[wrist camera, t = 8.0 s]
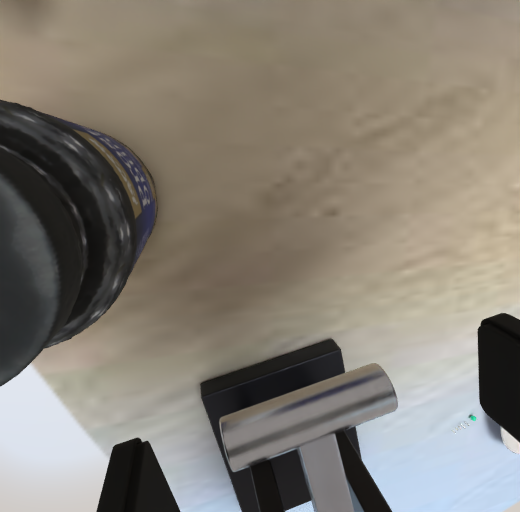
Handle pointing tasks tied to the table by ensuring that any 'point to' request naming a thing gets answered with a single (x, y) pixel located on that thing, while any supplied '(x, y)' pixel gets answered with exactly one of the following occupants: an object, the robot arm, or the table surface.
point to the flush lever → (310, 429)
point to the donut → (503, 438)
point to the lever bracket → (288, 464)
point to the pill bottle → (63, 229)
